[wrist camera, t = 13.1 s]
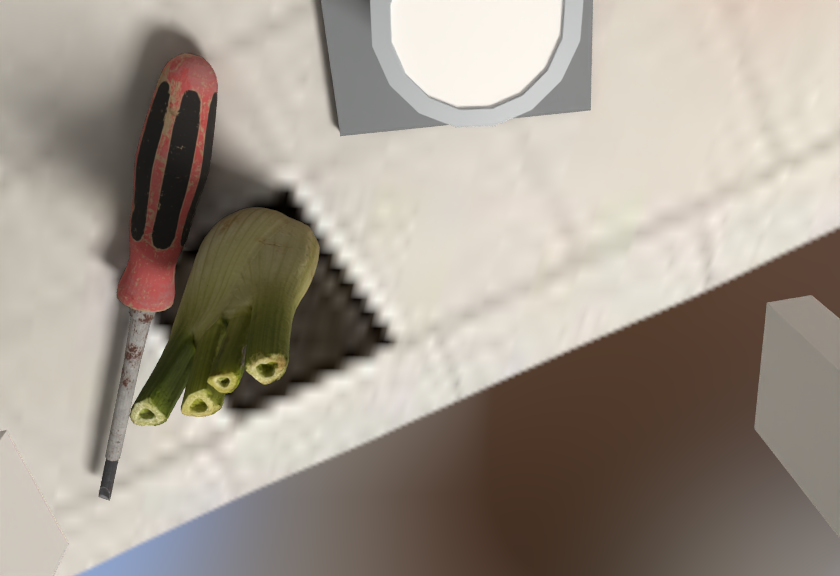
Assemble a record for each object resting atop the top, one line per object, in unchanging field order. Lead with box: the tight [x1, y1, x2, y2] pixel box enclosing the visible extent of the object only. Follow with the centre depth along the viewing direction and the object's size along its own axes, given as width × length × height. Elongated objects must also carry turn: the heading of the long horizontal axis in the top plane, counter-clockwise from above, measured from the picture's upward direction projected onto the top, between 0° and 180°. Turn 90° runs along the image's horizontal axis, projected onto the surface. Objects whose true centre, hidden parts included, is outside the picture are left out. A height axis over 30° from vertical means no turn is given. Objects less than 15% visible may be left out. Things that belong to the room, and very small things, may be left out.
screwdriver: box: [99, 53, 218, 501], centre depth 34 cm, size 25×3×3 cm, turn 160°
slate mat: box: [321, 0, 593, 136], centre depth 29 cm, size 11×10×1 cm
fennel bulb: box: [130, 207, 320, 426], centre depth 28 cm, size 6×5×12 cm
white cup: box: [370, 0, 583, 127], centre depth 25 cm, size 7×7×7 cm
